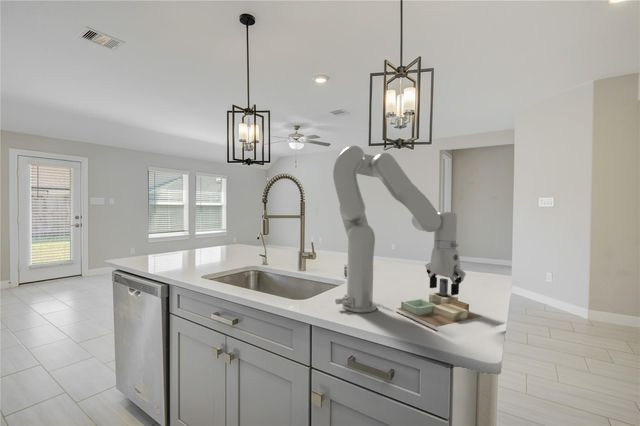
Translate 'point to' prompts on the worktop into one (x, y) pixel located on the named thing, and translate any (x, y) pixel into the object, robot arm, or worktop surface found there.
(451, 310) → the beige cardboard box
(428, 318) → the board
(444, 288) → the dowel
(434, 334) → the worktop surface
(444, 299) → the holder
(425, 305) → the tray
